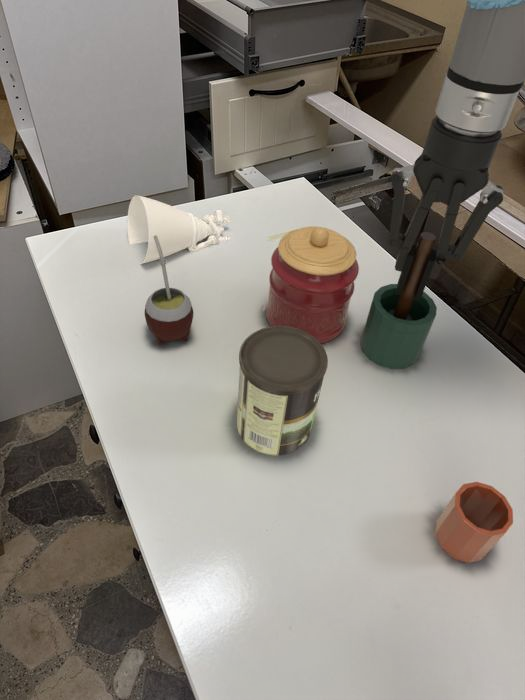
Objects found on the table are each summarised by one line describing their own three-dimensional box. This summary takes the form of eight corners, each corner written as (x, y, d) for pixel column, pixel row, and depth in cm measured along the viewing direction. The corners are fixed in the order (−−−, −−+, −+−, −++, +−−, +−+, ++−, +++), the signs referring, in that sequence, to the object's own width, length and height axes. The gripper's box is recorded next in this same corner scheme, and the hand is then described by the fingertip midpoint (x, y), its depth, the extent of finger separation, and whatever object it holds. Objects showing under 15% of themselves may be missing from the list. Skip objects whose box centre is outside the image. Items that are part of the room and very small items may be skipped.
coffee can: (308, 398, 74) (323, 326, 64) (314, 461, 67) (332, 391, 57) (235, 396, 74) (239, 323, 64) (234, 459, 67) (238, 388, 57)
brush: (402, 340, 82) (443, 232, 68) (399, 356, 80) (441, 247, 65) (379, 335, 83) (415, 225, 68) (376, 350, 80) (412, 240, 66)
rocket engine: (238, 188, 95) (141, 184, 86) (249, 250, 94) (153, 253, 85) (212, 210, 105) (123, 209, 96) (222, 267, 104) (133, 271, 95)
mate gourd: (177, 360, 78) (172, 281, 67) (133, 341, 80) (121, 261, 69) (204, 331, 82) (202, 252, 72) (162, 313, 85) (155, 234, 74)
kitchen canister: (341, 298, 90) (362, 207, 78) (347, 352, 81) (372, 260, 69) (266, 292, 90) (275, 200, 77) (264, 346, 81) (273, 252, 68)
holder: (484, 524, 63) (512, 491, 57) (484, 572, 59) (514, 542, 53) (434, 509, 64) (456, 475, 58) (430, 556, 60) (454, 524, 54)
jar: (419, 340, 84) (438, 292, 77) (413, 379, 78) (434, 332, 71) (364, 326, 86) (378, 277, 79) (354, 364, 80) (369, 315, 73)
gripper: (394, 122, 55) (351, 294, 72) (543, 151, 53) (462, 321, 70) (402, 97, 60) (360, 263, 77) (538, 122, 58) (464, 288, 75)
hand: (408, 290), depth 73 cm, fingers closed on brush, 2 cm apart
